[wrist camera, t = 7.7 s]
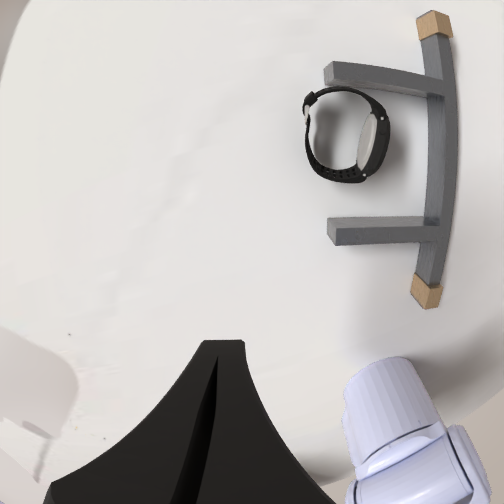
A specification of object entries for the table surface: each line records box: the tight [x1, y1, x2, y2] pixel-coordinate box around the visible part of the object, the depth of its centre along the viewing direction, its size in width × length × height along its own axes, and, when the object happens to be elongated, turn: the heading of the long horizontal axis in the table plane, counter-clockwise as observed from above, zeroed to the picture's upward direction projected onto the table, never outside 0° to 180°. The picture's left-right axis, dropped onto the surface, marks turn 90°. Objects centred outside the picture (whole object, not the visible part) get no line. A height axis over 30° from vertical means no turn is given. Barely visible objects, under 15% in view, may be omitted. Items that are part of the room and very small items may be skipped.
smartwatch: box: [303, 86, 390, 183], centre depth 14 cm, size 4×5×5 cm
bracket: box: [324, 10, 458, 309], centre depth 14 cm, size 20×8×2 cm, turn 3°
